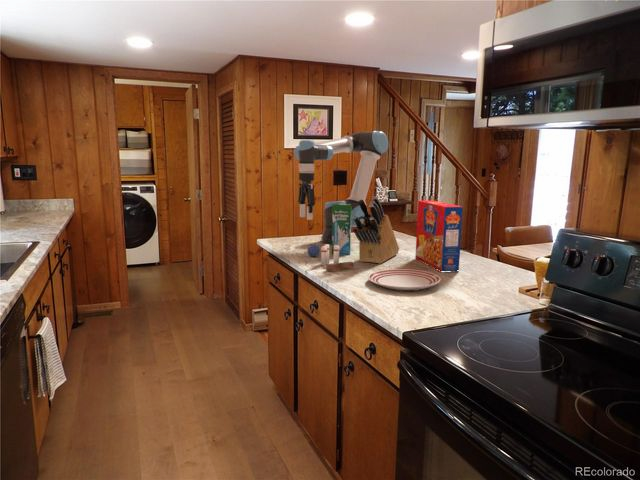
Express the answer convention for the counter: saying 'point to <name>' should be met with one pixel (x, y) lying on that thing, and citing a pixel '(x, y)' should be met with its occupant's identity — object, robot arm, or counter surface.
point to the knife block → (375, 234)
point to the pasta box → (439, 234)
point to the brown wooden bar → (339, 266)
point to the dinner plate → (404, 279)
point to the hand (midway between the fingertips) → (306, 218)
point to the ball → (313, 250)
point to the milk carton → (341, 228)
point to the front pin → (327, 252)
